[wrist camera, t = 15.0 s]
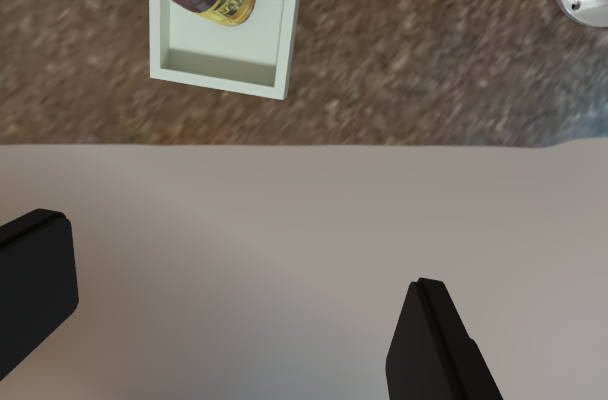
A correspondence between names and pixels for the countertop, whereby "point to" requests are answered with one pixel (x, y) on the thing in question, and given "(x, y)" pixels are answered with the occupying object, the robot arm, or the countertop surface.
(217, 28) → the tray
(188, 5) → the sauce bottle
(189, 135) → the countertop surface
